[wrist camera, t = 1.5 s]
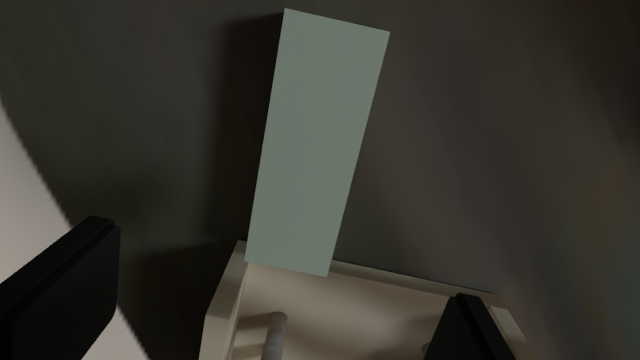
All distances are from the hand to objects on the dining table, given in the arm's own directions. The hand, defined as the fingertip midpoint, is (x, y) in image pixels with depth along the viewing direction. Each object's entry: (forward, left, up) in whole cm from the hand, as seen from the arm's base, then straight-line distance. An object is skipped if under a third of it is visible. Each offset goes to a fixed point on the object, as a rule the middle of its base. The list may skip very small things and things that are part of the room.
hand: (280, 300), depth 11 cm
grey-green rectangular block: (-1, 0, -15) cm, 15 cm away
